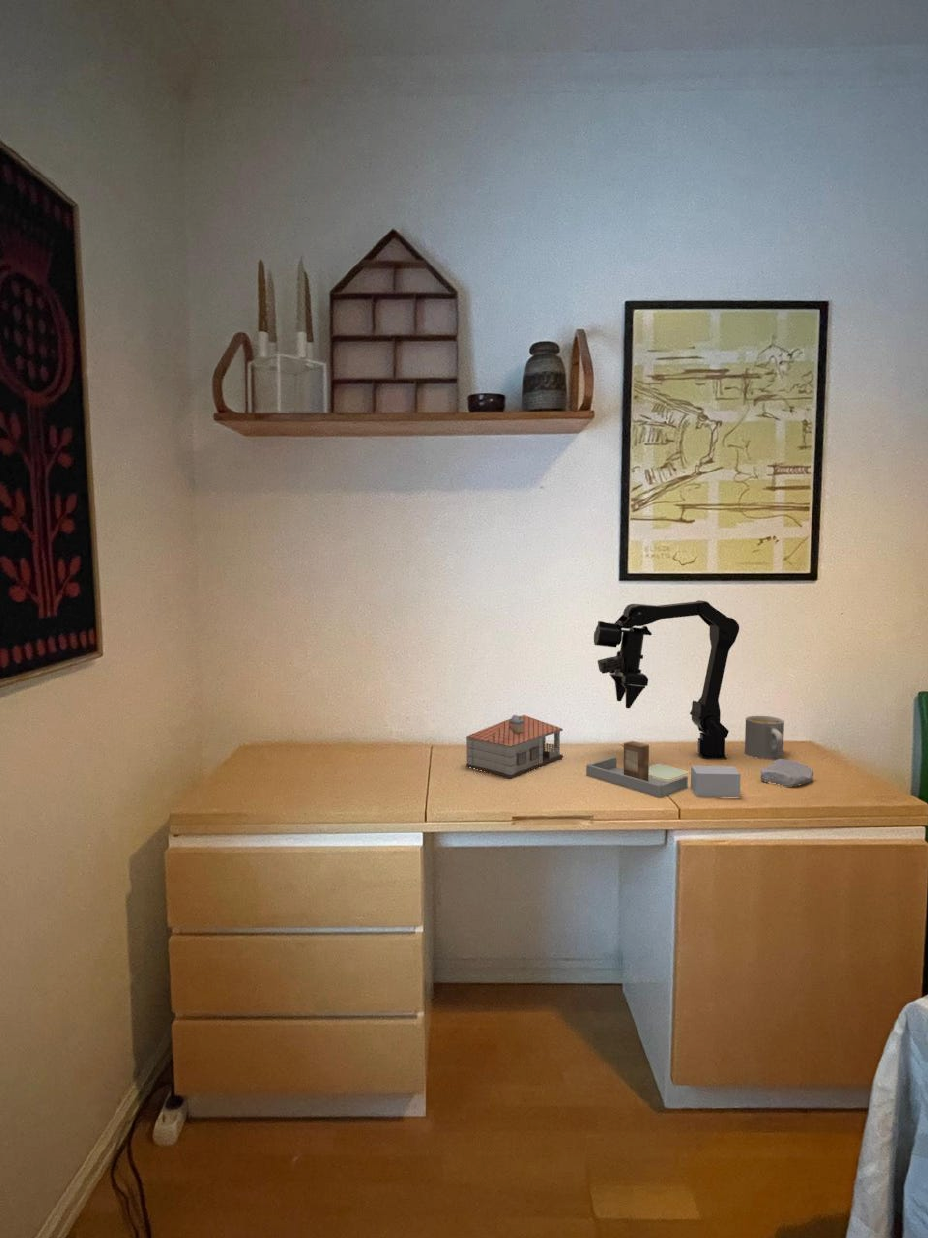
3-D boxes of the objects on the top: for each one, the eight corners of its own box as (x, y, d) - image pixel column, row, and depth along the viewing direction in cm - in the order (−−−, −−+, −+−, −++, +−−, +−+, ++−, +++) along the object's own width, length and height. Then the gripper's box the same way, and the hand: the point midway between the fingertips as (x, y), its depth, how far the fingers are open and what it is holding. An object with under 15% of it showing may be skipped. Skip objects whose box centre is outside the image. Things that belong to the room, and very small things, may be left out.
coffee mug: (740, 749, 210) (741, 715, 209) (775, 749, 209) (776, 715, 208) (755, 762, 196) (756, 726, 196) (792, 763, 196) (794, 727, 195)
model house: (511, 780, 185) (511, 723, 183) (466, 768, 195) (465, 714, 193) (563, 759, 202) (563, 707, 201) (519, 749, 212) (519, 699, 211)
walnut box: (632, 777, 184) (632, 740, 183) (648, 781, 180) (648, 744, 179) (623, 780, 182) (623, 743, 181) (639, 785, 178) (640, 747, 177)
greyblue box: (732, 790, 175) (733, 766, 174) (739, 799, 169) (740, 774, 168) (690, 789, 176) (691, 765, 175) (696, 798, 170) (696, 773, 169)
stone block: (814, 786, 183) (776, 770, 189) (819, 769, 181) (779, 753, 188) (795, 799, 174) (756, 782, 181) (800, 781, 173) (760, 765, 180)
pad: (658, 764, 195) (658, 763, 195) (690, 773, 188) (690, 771, 188) (635, 772, 189) (635, 770, 189) (667, 781, 181) (667, 780, 181)
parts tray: (613, 767, 193) (613, 756, 193) (687, 788, 176) (687, 776, 176) (586, 776, 186) (586, 765, 186) (660, 799, 169) (660, 786, 169)
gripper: (594, 641, 208) (587, 694, 209) (611, 650, 189) (603, 708, 191) (632, 646, 209) (624, 698, 210) (652, 655, 190) (644, 713, 191)
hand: (623, 704), depth 200 cm, fingers open, 9 cm apart
